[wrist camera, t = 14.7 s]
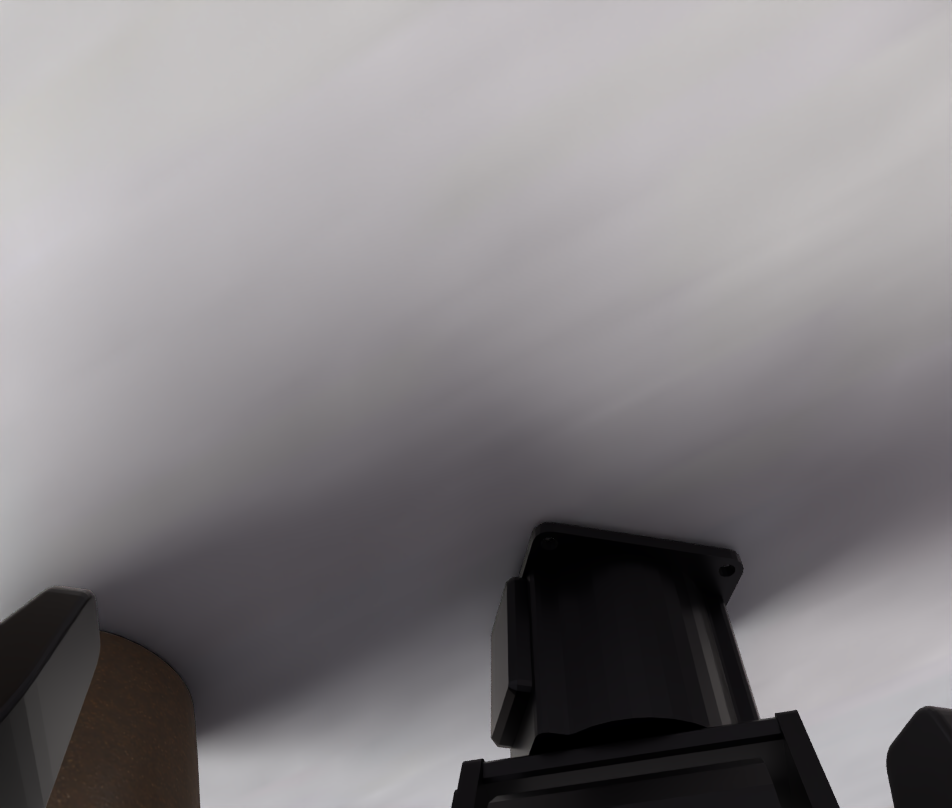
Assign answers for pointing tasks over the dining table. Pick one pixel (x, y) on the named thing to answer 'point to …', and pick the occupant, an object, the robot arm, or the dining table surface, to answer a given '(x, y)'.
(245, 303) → the dining table surface
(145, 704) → the plant pot
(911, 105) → the dining table surface
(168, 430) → the dining table surface
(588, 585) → the robot arm
